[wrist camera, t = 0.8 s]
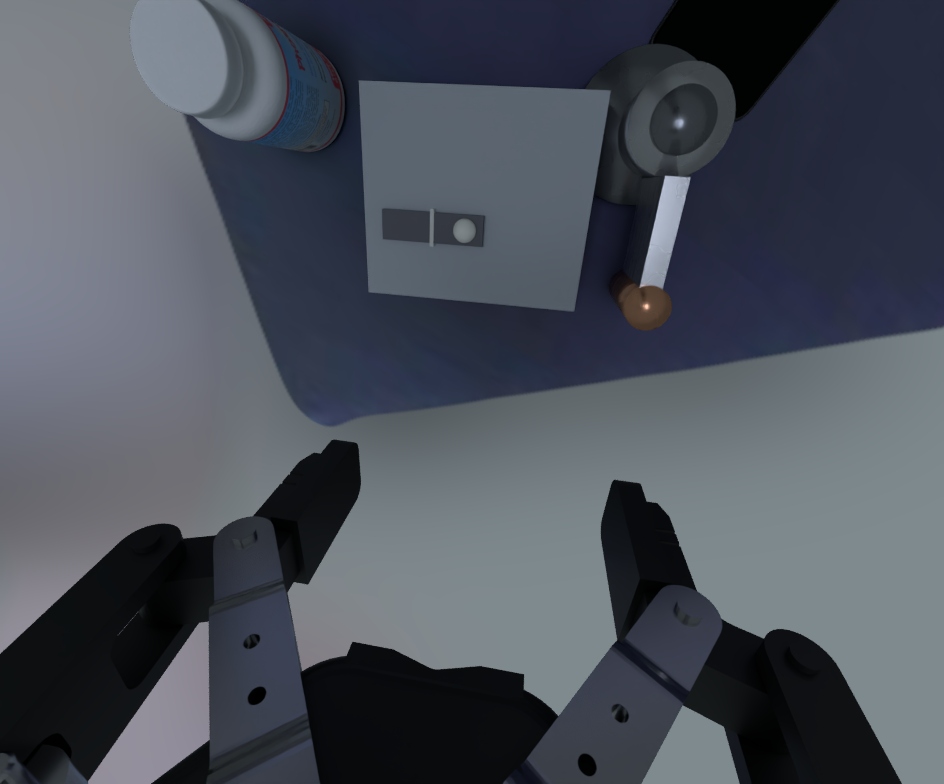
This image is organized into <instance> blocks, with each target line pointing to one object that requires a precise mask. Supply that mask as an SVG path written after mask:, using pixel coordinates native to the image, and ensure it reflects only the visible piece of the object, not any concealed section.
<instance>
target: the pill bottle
mask: <svg viewBox="0 0 944 784" xmlns="http://www.w3.org/2000/svg"><path fill="white" fill-rule="evenodd" d="M130 41H131V48H132V53H133V57H134V60H135V63H136V66H137V68H138V70H139V73H140V75H141V76H142V78H143V80H144V81H145V83H146V84H147V86H148V87H149V89H150V90H151V91H152V92H153V93H154V95H155V96H156V97H157V98H158V99H160V100H161V101H162V102H163V103H164V104H166V105H167V106H169V107H170V108H172V109H174V110H176V111H179V112H181V113H184V114H188V115H192V116H194V117H195V118H196V119H197V120H198V121H199V122H200V123H201V124H203V125H204V126H205V127H207V128H208V129H210V130H211V131H213V132H215V133H216V134H219V135H221V136H223V137H226V138H229V139H234V140H238V141H244V142H250V143H255V144H261V145H267V146H273V147H278V148H284V149H290V150H296V151H303V152H314V151H318V150H321V149H323V148H325V147H327V146H328V145H329V144H331V143H332V142H333V141H334V139H335V138H336V137H337V135H338V133H339V131H340V129H341V126H342V123H343V119H344V112H345V96H344V90H343V86H342V82H341V80H340V77H339V75H338V73H337V71H336V69H335V68H334V66H333V65H332V63H331V62H330V61H329V60H328V58H327V57H326V56H325V55H323V54H322V53H321V52H320V51H319V50H317V49H316V48H314V47H313V46H311V45H310V44H308V43H306V42H305V41H303V40H301V39H300V38H298V37H297V36H295V35H293V34H292V33H290V32H288V31H287V30H285V29H284V28H282V27H280V26H279V25H277V24H276V23H274V22H272V21H271V20H269V19H268V18H266V17H264V16H263V15H261V14H259V13H258V12H257V11H255V10H253V9H251V8H250V7H248V6H247V5H245V4H243V3H241V2H239V1H237V0H139V1H138V2H137V4H136V6H135V8H134V11H133V14H132V17H131V23H130Z"/></svg>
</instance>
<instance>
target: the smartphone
mask: <svg viewBox="0 0 944 784" xmlns="http://www.w3.org/2000/svg"><path fill="white" fill-rule="evenodd" d="M838 2H839V0H675V1H674V3H673V4H672V6H671V7H670V9H669V10H668V12H667V13H666V15H665V16H664V18H663V19H662V21H661V23H660V24H659V26H658V27H657V29H656V30H655V32H654V33H653V35H652V37H651V39H650V42H649V44H664V45H670V46H674V47H677V48H679V49H682V50H684V51H686V52H687V53H689V54H690V55H692V56H693V57H694V58H695V59H696V60H697V61H702V62H706V63H709V64H711V65H713V66H715V67H717V68H718V69H719V70H721V71H722V72H723V73H724V74H725V76H726V77H727V78H728V80H729V82H730V84H731V86H732V88H733V91H734V95H735V104H736V110H735V118H734V122H735V121H738V120H740V119H742V118H743V117H745V116H746V115H747V114H748V113H749V112H750V111H751V110H752V109H753V107H754V106H755V105H756V104H757V102H758V101H759V100H760V99H761V97H762V96H763V95H764V94H765V92H766V91H767V90H768V89H769V87H770V86H771V85H772V84H773V83H774V81H775V80H776V79H777V78H778V76H779V75H780V74H781V73H782V71H783V70H784V69H785V68H786V66H787V65H788V64H789V63H790V61H791V60H792V59H793V58H794V56H795V55H796V54H797V53H798V51H799V50H800V49H801V48H802V46H803V45H804V44H805V43H806V41H807V40H808V39H809V38H810V37H811V35H812V34H813V33H814V32H815V30H816V29H817V28H818V27H819V25H820V24H821V23H822V22H823V20H824V19H825V18H826V17H827V15H828V14H829V13H830V12H831V10H832V9H833V8H834V7H835V5H836V4H837V3H838Z"/></svg>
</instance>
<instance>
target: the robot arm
mask: <svg viewBox="0 0 944 784" xmlns="http://www.w3.org/2000/svg"><path fill="white" fill-rule="evenodd" d="M360 486H361V476H360V462H359V449H358V445H357V443H354V442H347V441H340V440H332V441H331V442H330V443H329V444H328V445H327V446H326V448H325V449H324V450H323V451H322V453H321V454H319V453H313V454H311V455H310V456H308V457H306V458H305V459H303V460H301V461H300V462H299V463H298V464H297V465H296V466H295V468H294V469H293V470H292V471H291V472H290V475H288V476H287V477H286V478H285V479H284V481H283V483H282V484H280V485H279V486H278V488H277V489H276V490H275V491H274V492H273V493H272V495H271V496H270V497H269V498H268V499H267V500H266V502H265V503H264V504H263V505H262V506H261V508H260V509H259V510H258V511H257V512H256V513H255V514H254V516H252V517H246V518H242V519H239V520H236V521H234V522H232V523H230V524H228V525H227V526H225V527H224V528H223V529H222V530H221V531H219V533H218V534H217V535H215V536H206V537H196V538H186V539H183V537H182V534H181V531H180V530H179V528H178V527H176V526H174V525H171V524H155V525H151V526H147V527H144V528H141V529H139V530H137V531H135V532H133V533H131V534H130V535H128V536H127V537H125V538H124V539H123V540H122V541H121V542H119V543H118V544H117V545H116V546H115V547H114V548H113V549H112V550H111V551H110V552H109V553H108V554H107V555H106V556H105V557H103V558H102V559H101V560H100V561H99V562H98V563H97V564H96V565H95V566H94V567H93V568H92V569H91V570H90V571H88V572H87V573H86V575H84V576H83V577H82V578H81V579H80V580H79V581H78V582H77V583H76V584H75V585H74V586H72V587H71V588H70V589H69V590H68V591H67V592H66V593H65V594H64V595H63V596H62V597H61V598H60V599H59V600H57V601H56V602H55V603H54V604H53V605H52V606H51V607H50V608H49V609H48V610H47V611H46V612H45V613H44V614H42V615H41V616H40V617H39V618H38V619H37V620H36V621H35V622H34V623H33V624H32V625H31V626H30V627H29V628H28V629H26V630H25V631H24V632H23V633H22V634H21V635H20V636H19V637H18V638H17V639H16V640H15V641H14V642H13V643H12V644H10V645H9V646H8V647H7V648H6V649H5V650H4V651H3V652H2V653H1V654H0V784H88V780H89V779H90V778H91V776H92V775H93V773H94V772H95V770H96V769H97V768H98V766H99V765H100V763H101V762H102V760H103V759H104V758H105V756H106V755H107V753H108V752H109V750H110V749H111V748H112V746H113V745H114V743H115V742H116V740H117V739H118V737H119V736H120V735H121V733H122V732H123V730H124V729H125V728H126V726H127V725H128V723H129V722H130V720H131V719H132V718H133V716H134V715H135V713H136V712H137V710H138V709H139V708H140V706H141V705H142V703H143V702H144V701H145V699H146V698H147V696H148V695H149V693H150V692H151V691H152V689H153V688H154V686H155V685H156V683H157V682H158V681H159V679H160V678H161V676H162V675H163V673H164V672H165V671H166V669H167V668H168V666H169V665H170V663H171V662H172V660H173V659H174V658H175V656H176V655H177V653H178V652H179V651H180V649H181V648H182V646H183V645H184V643H185V642H186V641H187V639H188V638H189V636H190V635H191V633H192V632H193V631H194V629H195V628H196V626H197V625H198V623H200V622H208V621H209V706H210V707H209V710H210V711H209V712H210V713H209V714H210V715H209V716H210V740H209V741H207V742H206V743H205V744H203V745H202V746H201V747H199V748H198V749H197V750H195V751H194V752H193V753H191V754H190V755H189V756H187V757H186V758H185V759H183V760H182V761H181V762H180V763H178V764H177V765H175V766H174V767H173V768H171V769H170V770H169V771H167V772H166V773H165V774H163V775H162V776H161V777H159V778H158V779H157V780H155V781H154V782H153V783H151V784H641V783H642V781H643V779H644V778H645V776H646V774H647V772H648V770H649V768H650V766H651V764H652V762H653V760H654V759H655V757H656V755H657V752H658V751H659V749H660V747H661V745H662V743H663V741H664V739H665V738H666V736H667V734H668V732H669V730H670V728H671V726H672V724H673V722H674V721H675V719H676V717H677V715H678V713H679V711H680V709H681V707H682V705H683V706H685V707H687V708H689V709H691V710H693V711H695V712H697V713H699V714H701V715H703V716H704V717H706V718H708V719H710V720H712V721H714V722H716V723H718V724H720V725H722V726H724V728H725V732H726V736H727V739H728V743H729V746H730V750H731V753H732V757H733V761H734V764H735V768H736V771H737V775H738V779H739V783H740V784H902V783H901V781H900V779H899V778H898V776H897V774H896V772H895V770H894V768H893V767H892V765H891V763H890V761H889V759H888V757H887V756H886V754H885V752H884V750H883V748H882V746H881V745H880V743H879V741H878V739H877V737H876V736H875V734H874V732H873V730H872V728H871V726H870V724H869V722H868V721H867V719H866V717H865V715H864V713H863V712H862V710H861V708H860V706H859V704H858V702H857V701H856V699H855V697H854V695H853V693H852V691H851V690H850V688H849V686H848V684H847V682H846V680H845V678H844V677H843V675H842V673H841V671H840V669H839V668H838V666H837V664H836V663H835V662H834V660H833V659H832V658H831V657H830V656H829V655H828V654H827V652H825V651H824V650H823V649H822V648H821V647H820V646H819V645H817V644H816V643H814V642H813V641H811V640H810V639H808V638H807V637H805V636H803V635H801V634H798V633H796V632H793V631H790V630H784V629H776V630H773V631H770V632H769V633H768V634H767V635H766V636H765V638H764V639H763V638H761V637H758V636H756V635H754V634H752V633H749V632H747V631H745V630H742V629H740V628H738V627H735V626H733V625H731V624H729V623H727V622H726V621H724V620H722V619H721V617H720V614H719V613H718V611H717V609H716V608H715V606H714V605H713V604H712V603H711V602H710V601H709V600H708V599H707V598H706V597H704V596H703V595H701V594H700V593H699V592H697V590H696V587H695V585H694V582H693V579H692V576H691V574H690V571H689V569H688V566H687V563H686V560H685V558H684V555H683V552H682V550H681V547H680V546H679V541H678V539H677V537H676V534H675V531H674V528H673V525H672V523H671V520H670V517H669V516H668V515H667V514H666V512H665V511H664V510H663V509H662V508H661V507H660V506H659V505H658V503H652V502H646V499H645V496H644V492H643V490H642V486H641V484H639V483H633V482H626V481H618V480H614V481H613V482H612V484H611V488H610V491H609V495H608V499H607V502H606V506H605V510H604V513H603V517H602V522H601V541H602V547H603V554H604V560H605V566H606V572H607V579H608V585H609V591H610V597H611V603H612V610H613V616H614V622H615V628H616V635H617V641H616V642H615V643H614V644H613V645H612V647H611V648H610V649H609V651H608V652H607V653H606V655H605V656H604V657H603V658H602V660H601V661H600V662H599V664H598V665H597V666H596V668H595V669H594V670H593V672H592V673H591V674H590V676H589V677H588V679H587V680H586V681H585V682H584V684H583V685H582V686H581V688H580V689H579V690H578V691H577V693H576V694H575V695H574V697H573V698H572V699H571V701H570V702H569V703H568V705H567V706H566V707H565V709H564V710H563V711H562V713H561V714H560V715H559V716H558V715H557V714H556V713H555V712H554V711H553V710H552V709H551V708H550V707H549V706H547V705H546V704H545V703H544V702H543V701H542V700H540V699H539V698H537V697H535V696H534V695H533V694H531V693H529V692H527V691H525V690H524V674H519V673H514V672H509V671H503V670H498V669H493V668H487V667H482V666H477V667H465V668H452V669H440V670H435V669H431V668H429V667H427V666H425V665H423V664H421V663H419V662H417V661H415V660H413V659H411V658H409V657H407V656H405V655H403V654H401V653H399V652H397V651H395V650H392V649H388V648H383V647H377V646H372V645H367V644H362V643H356V642H352V644H351V647H350V649H349V651H348V654H347V656H342V657H337V658H332V659H329V660H326V661H323V662H320V663H317V664H315V665H313V666H311V667H309V668H307V669H305V670H304V671H302V668H301V663H300V657H299V652H298V647H297V642H296V636H295V631H294V626H293V620H292V615H291V610H290V605H289V599H288V594H287V592H288V591H289V589H290V587H291V586H292V584H293V582H297V583H303V584H309V582H310V580H311V578H312V577H313V575H314V573H315V571H316V570H317V568H318V566H319V564H320V563H321V561H322V559H323V558H324V556H325V554H326V552H327V550H328V549H329V547H330V545H331V544H332V542H333V540H334V538H335V537H336V535H337V533H338V531H339V530H340V528H341V526H342V524H343V523H344V521H345V519H346V518H347V516H348V514H349V512H350V511H351V509H352V507H353V505H354V504H355V502H356V500H357V498H358V495H359V491H360ZM137 612H138V613H137ZM136 613H137V614H136ZM132 618H133V619H132ZM131 619H132V620H131ZM130 620H131V621H130ZM127 624H128V625H127ZM126 625H127V626H126ZM125 626H126V627H125ZM124 627H125V628H124ZM121 631H122V632H121ZM120 632H121V633H120ZM119 633H120V634H119Z"/></svg>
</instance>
